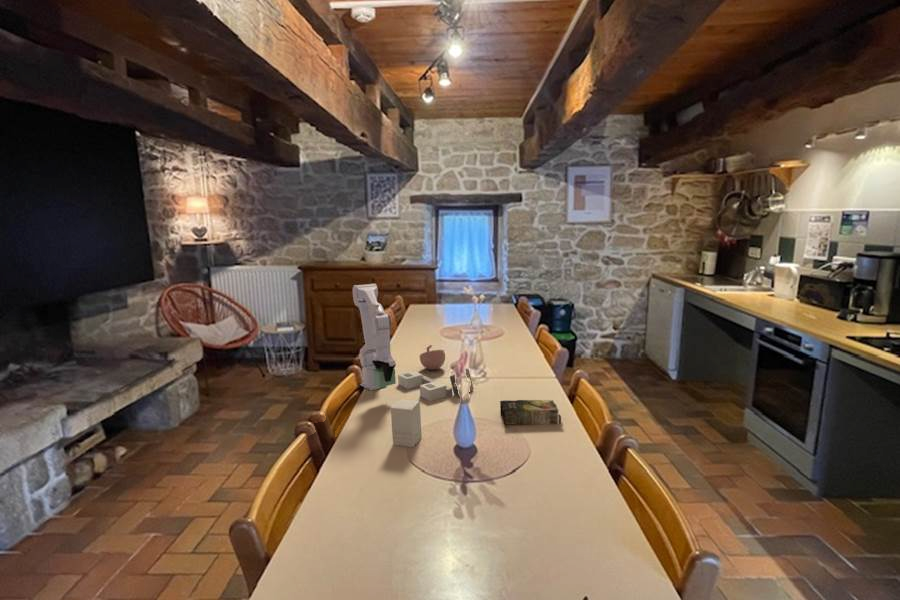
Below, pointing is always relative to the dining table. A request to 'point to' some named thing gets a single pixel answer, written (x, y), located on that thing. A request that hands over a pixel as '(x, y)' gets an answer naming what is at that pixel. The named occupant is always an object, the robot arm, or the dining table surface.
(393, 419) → the supplement box
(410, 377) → the rail mount
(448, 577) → the dining table surface
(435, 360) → the reddish brown round piece
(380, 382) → the block
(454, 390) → the electrical switch
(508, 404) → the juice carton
